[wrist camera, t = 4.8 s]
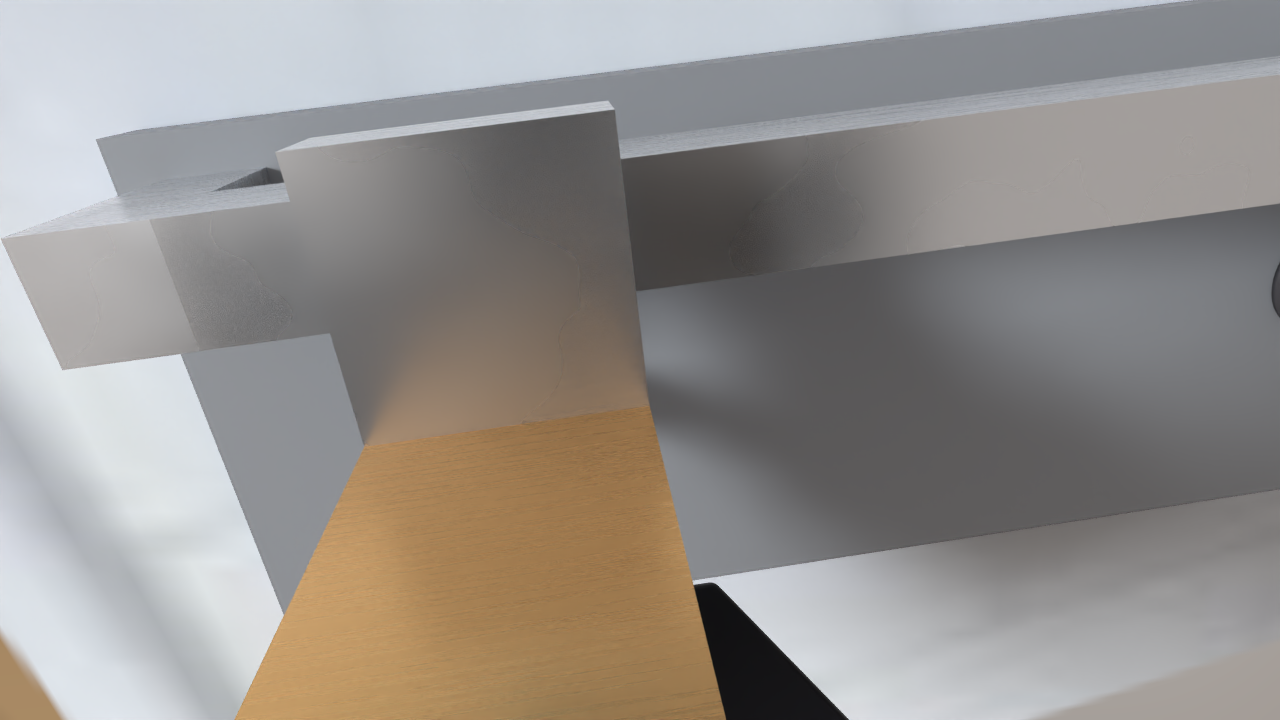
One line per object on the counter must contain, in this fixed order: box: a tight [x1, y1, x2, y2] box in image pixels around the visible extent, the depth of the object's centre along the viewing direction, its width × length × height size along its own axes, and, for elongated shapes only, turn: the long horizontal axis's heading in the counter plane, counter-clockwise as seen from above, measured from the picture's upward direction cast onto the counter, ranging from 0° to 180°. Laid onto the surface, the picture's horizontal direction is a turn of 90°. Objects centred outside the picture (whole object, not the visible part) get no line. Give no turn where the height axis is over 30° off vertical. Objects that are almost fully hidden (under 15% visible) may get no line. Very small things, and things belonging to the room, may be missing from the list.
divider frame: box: [1, 56, 1280, 370], centre depth 11 cm, size 22×6×4 cm, turn 96°
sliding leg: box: [235, 101, 726, 720], centre depth 8 cm, size 3×7×9 cm, turn 6°
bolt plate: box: [96, 0, 1280, 615], centre depth 14 cm, size 26×10×1 cm, turn 96°
